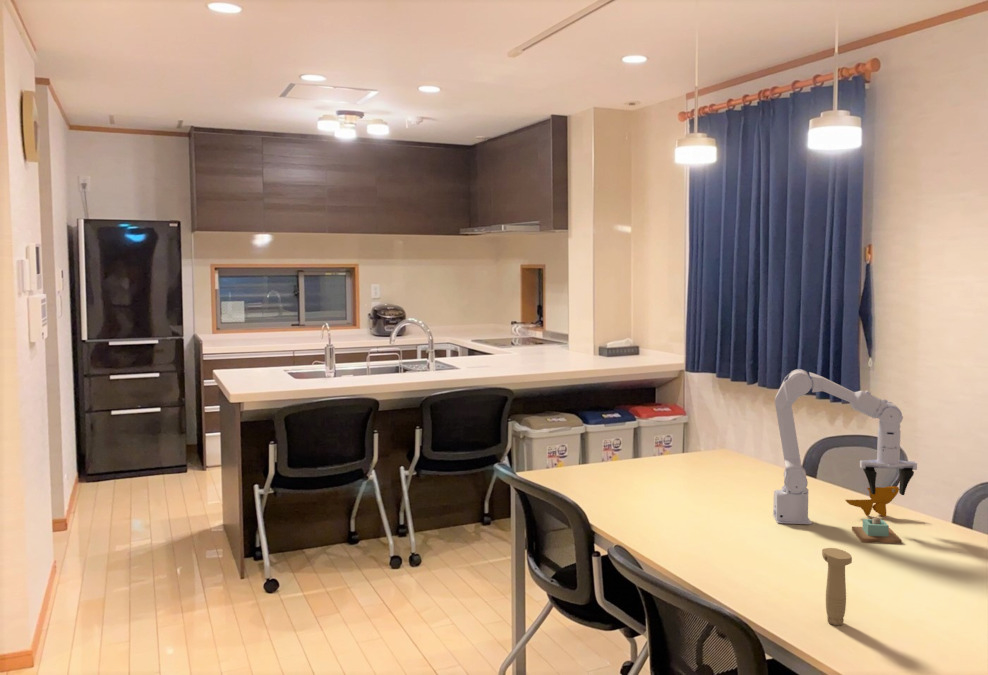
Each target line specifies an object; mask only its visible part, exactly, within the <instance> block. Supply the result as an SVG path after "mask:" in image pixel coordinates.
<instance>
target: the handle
mask: <svg viewBox="0 0 988 675" xmlns="http://www.w3.org/2000/svg"><path fill="white" fill-rule="evenodd" d="M821 553H822V559H823V560H824V561H825V562H826V563H827V575H826V577H827V578H826V586H825V587H826V588H825V609H826V610H825V611H826V617H827V622H828V623H827V624H829V625H834V626H842V625H843V624H844V621H845V620H844V618H845V614H846V609H847V608H846V607H847V589H846V588H847V587H846V583H847V582H846V566H848V565H850V564H852V563H853V556H852V554H850V553H849V552H848V551H845V550H843V549H841V548H840V549H839V548H836V547H827V548H825V547H824V548H822V549H821Z"/></svg>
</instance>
